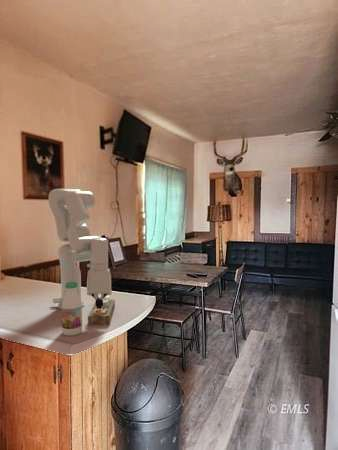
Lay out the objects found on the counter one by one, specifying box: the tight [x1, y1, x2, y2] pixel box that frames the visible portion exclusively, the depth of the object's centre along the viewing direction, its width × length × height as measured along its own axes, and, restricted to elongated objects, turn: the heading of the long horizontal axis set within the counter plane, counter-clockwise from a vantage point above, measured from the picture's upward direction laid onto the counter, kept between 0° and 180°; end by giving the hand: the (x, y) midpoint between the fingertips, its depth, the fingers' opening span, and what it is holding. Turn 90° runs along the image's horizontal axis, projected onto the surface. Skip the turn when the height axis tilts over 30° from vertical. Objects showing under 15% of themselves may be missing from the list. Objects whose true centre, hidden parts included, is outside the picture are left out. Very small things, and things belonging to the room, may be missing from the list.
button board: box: [87, 298, 116, 327], centre depth 144 cm, size 9×24×4 cm, turn 5°
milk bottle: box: [61, 282, 83, 337], centre depth 125 cm, size 8×8×20 cm
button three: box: [93, 308, 107, 315], centre depth 137 cm, size 5×5×5 cm
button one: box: [98, 294, 111, 304], centre depth 152 cm, size 5×5×5 cm
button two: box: [96, 299, 109, 309], centre depth 144 cm, size 5×5×5 cm
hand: (99, 307), depth 137 cm, fingers closed
